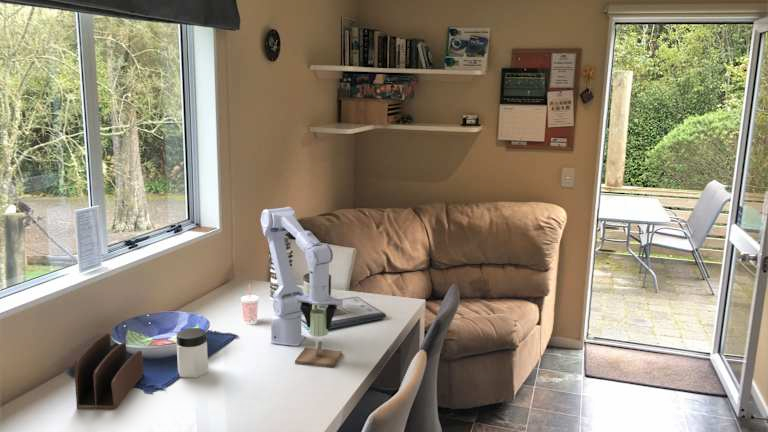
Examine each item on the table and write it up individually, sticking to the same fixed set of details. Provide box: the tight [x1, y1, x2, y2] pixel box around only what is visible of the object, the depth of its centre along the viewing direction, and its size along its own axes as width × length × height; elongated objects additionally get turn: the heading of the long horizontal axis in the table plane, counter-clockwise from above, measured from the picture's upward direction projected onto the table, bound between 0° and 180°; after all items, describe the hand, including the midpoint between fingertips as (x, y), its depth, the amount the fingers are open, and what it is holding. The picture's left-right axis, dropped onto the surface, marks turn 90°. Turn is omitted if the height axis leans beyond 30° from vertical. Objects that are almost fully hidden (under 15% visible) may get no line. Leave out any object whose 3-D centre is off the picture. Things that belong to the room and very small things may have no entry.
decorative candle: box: [268, 235, 294, 302], centre depth 241 cm, size 9×9×25 cm
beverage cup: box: [240, 283, 260, 325], centre depth 217 cm, size 6×6×14 cm
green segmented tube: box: [309, 308, 329, 338], centre depth 188 cm, size 5×5×7 cm
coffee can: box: [302, 272, 332, 309], centre depth 228 cm, size 10×10×14 cm
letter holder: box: [74, 332, 145, 410], centre depth 167 cm, size 10×20×14 cm, turn 0°
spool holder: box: [294, 340, 343, 369], centre depth 190 cm, size 12×10×6 cm
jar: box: [176, 327, 209, 379], centre depth 179 cm, size 9×8×12 cm
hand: (319, 327), depth 189 cm, fingers closed on green segmented tube, 5 cm apart
